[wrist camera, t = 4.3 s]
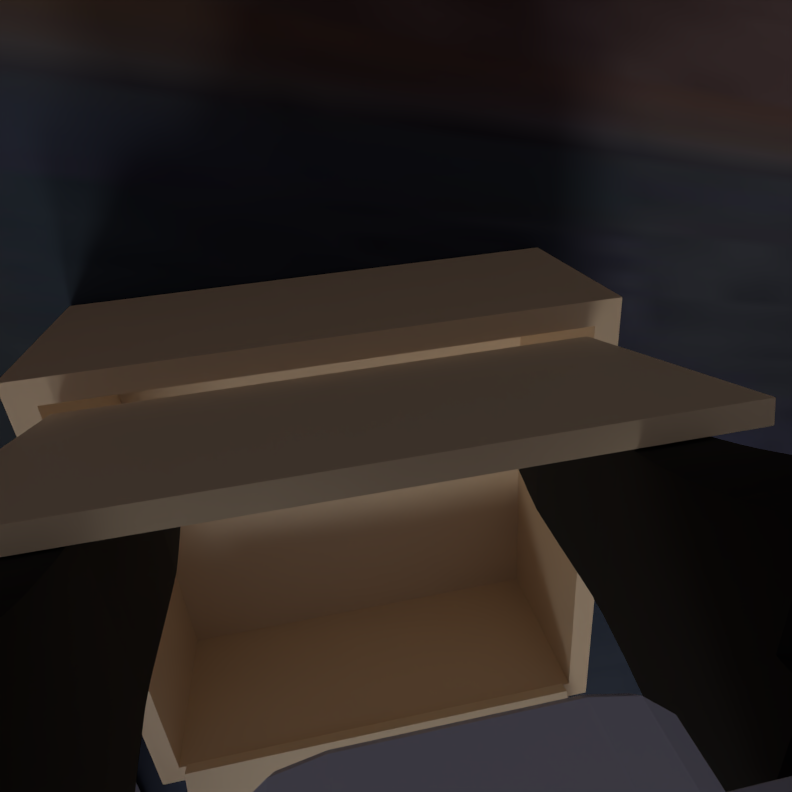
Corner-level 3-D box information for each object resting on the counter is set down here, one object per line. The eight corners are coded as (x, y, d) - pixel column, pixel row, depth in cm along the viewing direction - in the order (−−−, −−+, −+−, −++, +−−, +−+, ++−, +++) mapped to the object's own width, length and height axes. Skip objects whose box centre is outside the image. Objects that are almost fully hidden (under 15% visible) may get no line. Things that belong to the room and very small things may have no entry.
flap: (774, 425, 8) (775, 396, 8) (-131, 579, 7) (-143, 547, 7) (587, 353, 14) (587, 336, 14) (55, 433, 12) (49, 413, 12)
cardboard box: (528, 582, 24) (585, 692, 20) (185, 649, 22) (163, 784, 18) (537, 247, 18) (622, 297, 14) (69, 306, 16) (-6, 383, 12)
